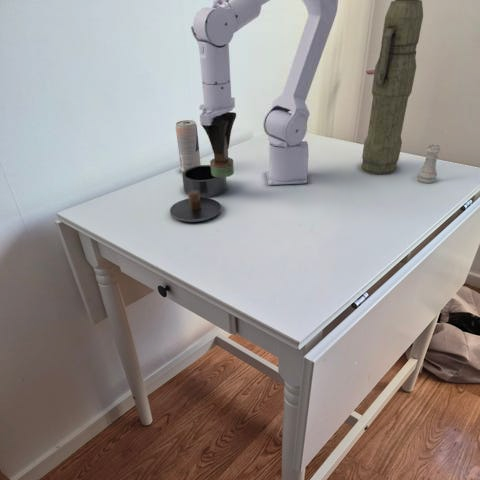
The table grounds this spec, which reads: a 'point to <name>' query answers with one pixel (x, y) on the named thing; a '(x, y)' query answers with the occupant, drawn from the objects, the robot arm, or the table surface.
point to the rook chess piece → (429, 165)
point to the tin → (203, 181)
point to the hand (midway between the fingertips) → (221, 151)
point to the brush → (222, 163)
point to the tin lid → (195, 208)
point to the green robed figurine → (392, 86)
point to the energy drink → (188, 144)
